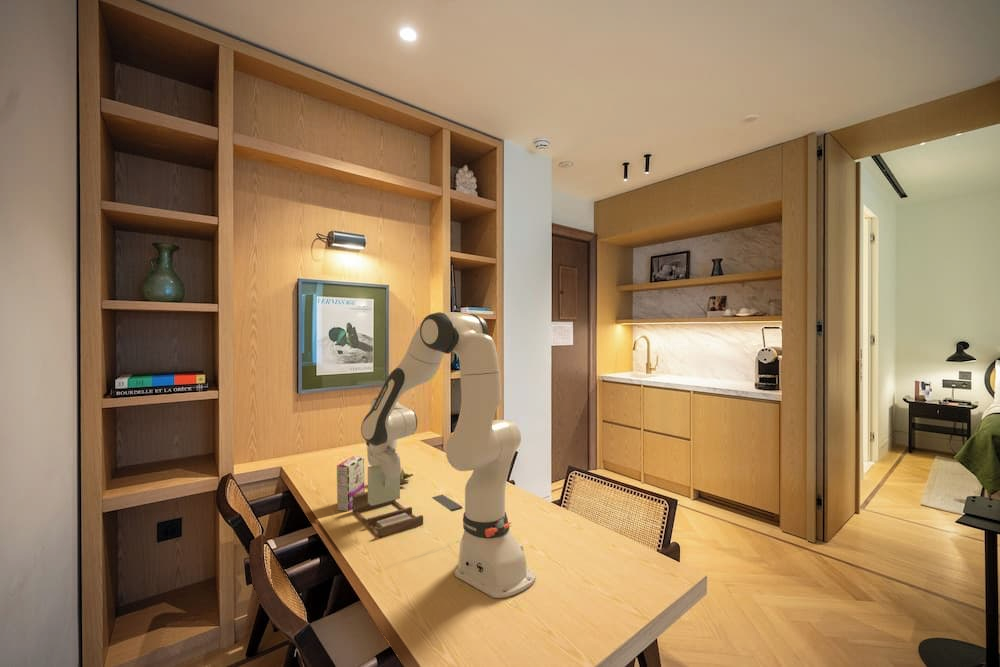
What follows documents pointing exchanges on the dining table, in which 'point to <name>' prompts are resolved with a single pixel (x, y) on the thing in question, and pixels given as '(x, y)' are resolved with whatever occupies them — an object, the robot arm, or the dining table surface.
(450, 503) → the rubber mat
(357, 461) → the candy bar box
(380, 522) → the upper offcut
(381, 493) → the beige rectangular block
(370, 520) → the frame
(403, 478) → the ceramic sculpture
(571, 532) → the dining table surface
